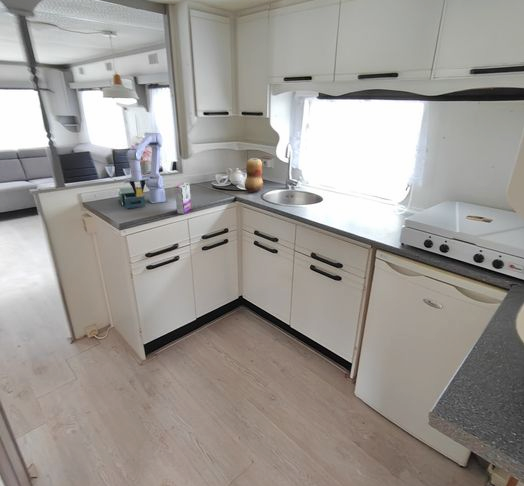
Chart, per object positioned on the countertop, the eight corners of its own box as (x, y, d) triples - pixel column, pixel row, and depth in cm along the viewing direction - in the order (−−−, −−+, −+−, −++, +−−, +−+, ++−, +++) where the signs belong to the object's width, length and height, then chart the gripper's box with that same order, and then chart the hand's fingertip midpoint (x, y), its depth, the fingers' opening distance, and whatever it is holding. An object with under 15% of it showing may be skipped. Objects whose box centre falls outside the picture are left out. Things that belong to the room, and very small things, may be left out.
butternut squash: (249, 195, 235) (249, 160, 225) (241, 191, 246) (241, 157, 236) (266, 193, 241) (267, 159, 232) (257, 189, 252) (258, 156, 242)
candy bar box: (184, 208, 204) (182, 182, 197) (191, 209, 203) (189, 183, 196) (176, 213, 193) (174, 186, 187) (184, 214, 193) (182, 187, 186)
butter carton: (135, 195, 198) (134, 187, 196) (141, 194, 199) (140, 187, 198) (137, 197, 194) (136, 189, 192) (143, 196, 195) (142, 189, 194)
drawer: (146, 207, 201) (145, 198, 198) (127, 210, 195) (125, 200, 193) (141, 200, 215) (139, 191, 213) (122, 202, 210) (121, 193, 208)
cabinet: (143, 203, 213) (141, 191, 209) (122, 206, 207) (120, 193, 204) (139, 198, 224) (137, 186, 221) (119, 200, 218) (117, 188, 215)
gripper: (123, 173, 184) (127, 196, 189) (149, 171, 191) (152, 193, 196) (121, 171, 190) (125, 193, 195) (147, 169, 197) (150, 190, 202)
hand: (138, 193), depth 196 cm, fingers closed on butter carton, 3 cm apart
